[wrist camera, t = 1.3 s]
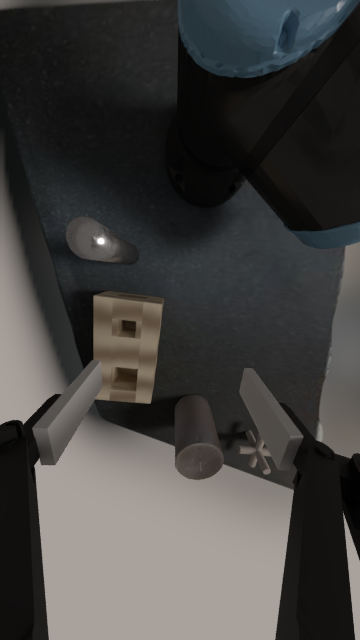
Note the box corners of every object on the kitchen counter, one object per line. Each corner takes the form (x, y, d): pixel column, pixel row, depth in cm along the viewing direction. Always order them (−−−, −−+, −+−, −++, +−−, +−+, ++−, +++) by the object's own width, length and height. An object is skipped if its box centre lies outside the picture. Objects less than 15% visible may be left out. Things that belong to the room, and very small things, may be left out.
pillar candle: (213, 417, 48) (231, 480, 33) (180, 426, 48) (183, 493, 34) (204, 389, 45) (219, 444, 31) (169, 399, 45) (168, 458, 31)
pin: (119, 242, 34) (65, 213, 17) (139, 245, 34) (106, 220, 17) (118, 263, 35) (66, 256, 18) (138, 265, 35) (106, 262, 18)
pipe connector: (259, 446, 52) (279, 487, 42) (228, 444, 51) (241, 484, 41) (270, 421, 49) (294, 457, 39) (236, 417, 48) (253, 454, 38)
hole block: (107, 290, 37) (93, 295, 30) (163, 298, 38) (161, 304, 31) (105, 378, 43) (93, 399, 36) (153, 383, 44) (150, 403, 37)
